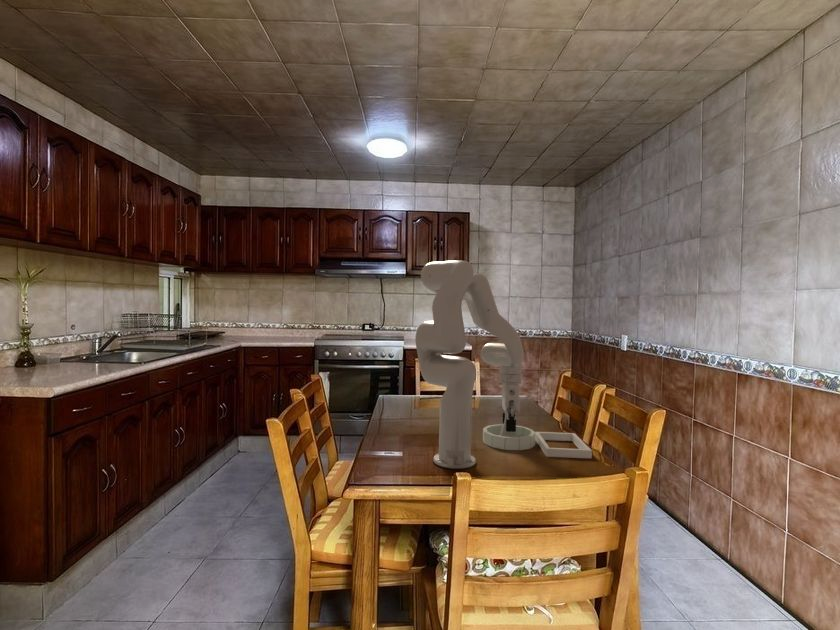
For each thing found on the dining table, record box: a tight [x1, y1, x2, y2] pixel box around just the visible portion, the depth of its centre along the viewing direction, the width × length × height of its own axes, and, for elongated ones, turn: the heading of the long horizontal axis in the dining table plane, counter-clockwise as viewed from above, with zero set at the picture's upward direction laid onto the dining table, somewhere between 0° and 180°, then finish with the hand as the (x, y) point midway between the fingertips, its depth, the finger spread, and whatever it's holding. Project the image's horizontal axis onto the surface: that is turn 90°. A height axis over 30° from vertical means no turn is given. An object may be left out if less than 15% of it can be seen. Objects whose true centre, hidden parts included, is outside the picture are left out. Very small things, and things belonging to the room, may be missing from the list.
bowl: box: [482, 423, 536, 451], centre depth 161 cm, size 17×17×4 cm
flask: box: [499, 412, 518, 437], centre depth 161 cm, size 7×7×10 cm
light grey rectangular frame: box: [534, 431, 593, 459], centre depth 156 cm, size 20×14×2 cm
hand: (508, 427), depth 161 cm, fingers open, 9 cm apart
